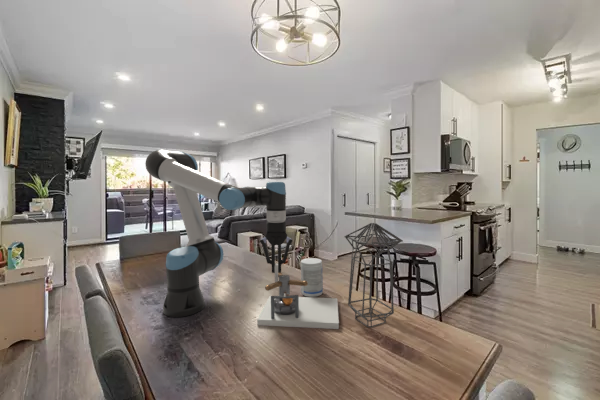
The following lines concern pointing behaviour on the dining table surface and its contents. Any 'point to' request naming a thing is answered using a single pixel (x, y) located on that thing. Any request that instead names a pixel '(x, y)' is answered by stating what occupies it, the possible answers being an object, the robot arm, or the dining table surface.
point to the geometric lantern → (375, 229)
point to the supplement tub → (312, 277)
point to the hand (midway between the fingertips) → (276, 280)
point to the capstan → (284, 304)
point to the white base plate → (302, 313)
